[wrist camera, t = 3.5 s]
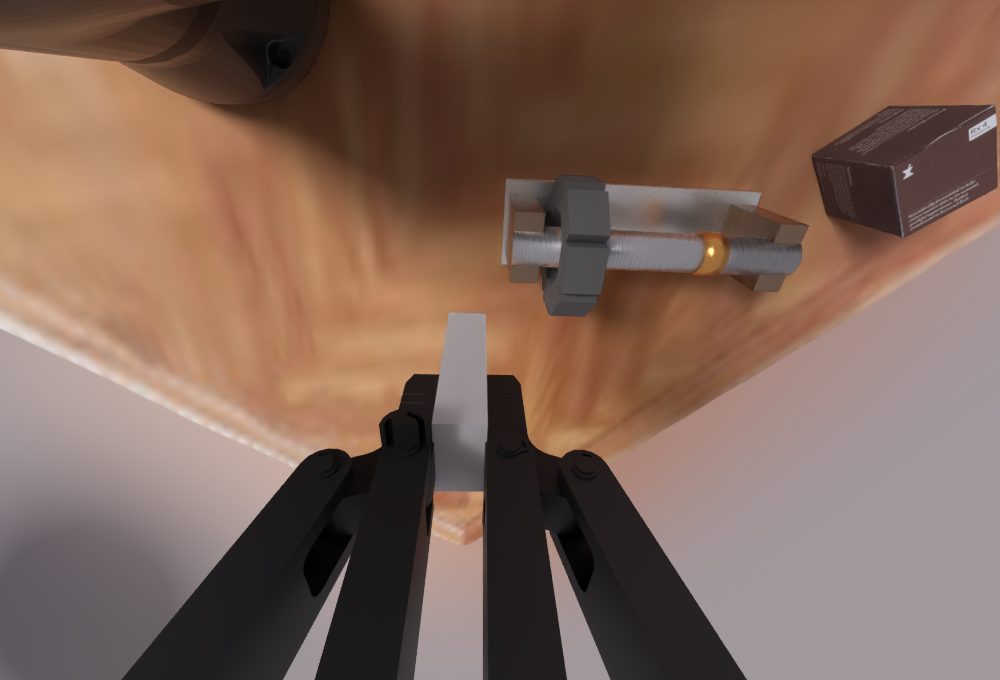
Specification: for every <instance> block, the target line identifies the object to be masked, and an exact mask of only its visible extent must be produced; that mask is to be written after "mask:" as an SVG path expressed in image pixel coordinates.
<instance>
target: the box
mask: <svg viewBox="0 0 1000 680" xmlns="http://www.w3.org/2000/svg"><path fill="white" fill-rule="evenodd" d="M812 157H813V161H814V165H815V169H816V173H817V176H818V180H819V183H820V187H821V191H822V195H823V200H824V204H825V207H826V211H827V214H828V215H831V216H835V217H838V218H841V219H844V220H847V221H850V222H854V223H857V224H860V225H864V226H867V227H871V228H874V229H877V230H880V231H883V232H886V233H891V234H894V235H897V236H900V237H902V238H904V237H906V236H908V235H910V234H912V233H914V232H915V231H917V230H919V229H921V228H923V227H925V226H927V225H928V224H930V223H932V222H934V221H936V220H938V219H940V218H942V217H943V216H945V215H947V214H949V213H951V212H953V211H955V210H957V209H958V208H960V207H962V206H964V205H966V204H968V203H970V202H971V201H973V200H975V199H977V198H979V197H981V196H983V195H985V194H987V193H988V192H990V191H992V190H994V189H996V188H997V187H998V178H997V177H998V176H997V120H996V110H995V105H980V106H975V105H959V106H889V107H887V108H885V109H884V110H882V111H881V112H879V113H878V114H876V115H874V116H873V117H871V118H870V119H868V120H866V121H865V122H863V123H862V124H860V125H858V126H857V127H855V128H854V129H852V130H850V131H849V132H847V133H846V134H844V135H843V136H841V137H839V138H838V139H836V140H835V141H833V142H831V143H830V144H828V145H827V146H825V147H824V148H822V149H820V150H819V151H817V152H816V153H814V154H813V155H812Z"/></svg>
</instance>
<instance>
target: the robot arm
mask: <svg viewBox="0 0 1000 680" xmlns="http://www.w3.org/2000/svg"><path fill="white" fill-rule="evenodd" d="M328 10H329V0H0V49H9V50H18V51H27V52H35V53H44V54H53V55H62V56H71V57H80V58H89V59H98V60H107V61H118V62H120V63H122V64H123V65H125V66H127V67H129V68H131V69H132V70H134V71H136V72H138V73H140V74H141V75H143V76H145V77H147V78H149V79H150V80H152V81H154V82H156V83H158V84H160V85H161V86H163V87H165V88H167V89H169V90H172V91H174V92H176V93H179V94H181V95H184V96H187V97H190V98H193V99H197V100H200V101H204V102H209V103H215V104H239V105H246V104H256V103H262V102H266V101H269V100H272V99H275V98H277V97H279V96H281V95H283V94H285V93H286V92H288V91H289V90H291V89H292V88H293V87H295V86H296V85H297V84H298V83H299V82H300V81H301V80H302V79H303V78H304V77H305V75H306V74H307V73H308V71H309V70H310V68H311V67H312V65H313V63H314V62H315V60H316V58H317V56H318V54H319V51H320V48H321V46H322V43H323V39H324V36H325V31H326V27H327V20H328ZM379 428H380V435H381V442H382V447H381V448H379V449H377V450H375V451H374V452H371V453H368V454H365V455H360V456H356V457H352V458H350V456H349V455H348V454H347V453H346V452H345V451H342V450H340V449H325V450H320V451H317V452H315V453H313V454H311V455H310V456H308V457H307V458H306V459H305V460H304V461H302V462H301V463H300V465H299V466H298V467H297V468H296V469H295V471H294V472H293V473H292V474H291V476H290V477H289V478H288V479H287V480H286V482H285V483H284V484H283V485H282V486H281V488H280V489H279V490H278V491H277V492H276V494H275V495H274V496H273V497H272V498H271V500H270V501H269V502H268V503H267V504H266V506H265V507H264V508H263V509H262V510H261V512H260V513H259V514H258V515H257V517H256V518H255V519H254V520H253V521H252V523H251V524H250V525H249V526H248V528H247V529H246V530H245V531H244V532H243V533H242V535H241V536H240V537H239V539H237V541H236V542H235V543H234V544H233V546H232V547H231V548H230V549H229V550H228V552H227V553H226V554H225V555H224V556H223V558H222V559H221V560H220V561H219V562H218V564H217V565H216V566H215V567H214V569H213V570H212V571H211V572H210V573H209V575H208V576H207V577H206V578H205V579H204V581H203V582H202V583H201V584H200V586H199V587H198V588H197V589H196V590H195V591H194V593H193V594H192V595H191V596H190V598H189V599H188V600H187V601H186V602H185V604H184V605H183V606H182V607H181V608H180V610H179V611H178V612H177V613H176V614H175V616H174V617H173V618H172V619H171V620H170V622H169V623H168V624H167V625H166V627H165V628H164V629H163V630H162V631H161V633H160V634H159V635H158V636H157V637H156V639H155V640H154V641H153V642H152V644H151V645H150V646H149V647H148V648H147V650H146V651H145V652H144V653H143V654H142V656H141V657H140V658H139V659H138V660H137V662H136V663H135V664H134V665H133V666H132V668H131V669H130V670H129V671H128V672H127V674H126V675H125V676H124V677H123V678H122V680H283V678H284V676H285V675H286V673H287V671H288V669H289V667H290V665H291V663H292V662H293V660H294V658H295V656H296V654H297V652H298V650H299V649H300V647H301V645H302V643H303V641H304V640H305V638H306V636H307V634H308V632H309V630H310V628H311V626H312V625H313V623H314V621H315V619H316V617H317V615H318V614H319V612H320V610H321V608H322V606H323V605H324V603H325V601H326V599H327V597H328V595H329V593H330V592H331V590H332V588H333V586H334V584H335V582H336V580H337V579H338V577H339V575H340V573H341V571H342V570H343V568H344V566H345V564H346V562H347V560H348V558H349V557H350V560H349V563H348V566H347V570H346V573H345V577H344V580H343V584H342V587H341V591H340V594H339V597H338V601H337V604H336V608H335V611H334V615H333V618H332V622H331V625H330V628H329V632H328V635H327V639H326V642H325V646H324V650H323V653H322V656H321V660H320V663H319V666H318V670H317V674H316V677H315V680H414V672H415V663H416V655H417V646H418V637H419V629H420V621H421V612H422V603H423V595H424V586H425V577H426V569H427V561H428V552H429V544H430V535H431V527H432V518H433V510H434V504H433V494H434V486H435V491H484V499H483V518H482V524H483V680H567V677H566V671H565V663H564V656H563V649H562V643H561V636H560V629H559V622H558V615H557V608H556V602H555V595H554V588H553V581H552V574H551V567H550V561H549V554H548V547H547V540H546V533H545V529H546V530H549V531H550V535H551V537H552V539H553V542H554V544H555V547H556V549H557V552H558V554H559V556H560V559H561V561H562V564H563V566H564V568H565V571H566V573H567V575H568V578H569V581H570V583H571V585H572V588H573V590H574V592H575V595H576V597H577V600H578V602H579V605H580V607H581V609H582V612H583V614H584V617H585V619H586V622H587V624H588V626H589V629H590V631H591V634H592V635H593V638H594V641H595V643H596V646H597V648H598V651H599V653H600V655H601V658H602V660H603V663H604V665H605V667H606V670H607V672H608V675H609V677H610V680H747V679H746V678H745V676H744V675H743V673H742V672H741V670H740V668H739V667H738V665H737V664H736V662H735V661H734V659H733V658H732V656H731V654H730V653H729V651H728V650H727V648H726V647H725V646H724V644H723V642H722V641H721V639H720V638H719V636H718V634H717V633H716V631H715V630H714V628H713V627H712V625H711V624H710V622H709V621H708V619H707V618H706V616H705V615H704V613H703V611H702V610H701V608H700V607H699V605H698V604H697V602H696V601H695V599H694V598H693V596H692V594H691V593H690V591H689V590H688V588H687V587H686V585H685V584H684V582H683V581H682V579H681V578H680V576H679V575H678V573H677V571H676V570H675V568H674V567H673V565H672V564H671V562H670V561H669V559H668V557H667V556H666V555H665V553H664V551H663V550H662V548H661V547H660V545H659V544H658V542H657V541H656V539H655V537H654V536H653V534H652V533H651V531H650V530H649V528H648V527H647V525H646V524H645V522H644V520H643V519H642V518H641V516H640V514H639V513H638V511H637V510H636V508H635V507H634V505H633V504H632V502H631V501H630V499H629V497H628V496H627V494H626V493H625V491H624V490H623V488H622V487H621V485H620V484H619V482H618V480H617V479H616V477H615V476H614V474H613V473H612V471H611V470H610V468H609V467H608V465H607V464H606V463H605V461H604V460H603V459H602V458H601V457H599V456H598V455H596V454H594V453H593V452H589V451H586V450H573V451H570V452H568V453H566V454H565V455H564V456H563V457H562V458H560V457H556V456H553V455H549V454H546V453H544V452H542V451H540V450H539V449H537V448H536V447H535V446H534V445H533V444H532V443H531V441H530V440H529V438H528V434H527V427H526V420H525V413H524V405H523V398H522V391H521V384H520V383H519V382H518V380H517V379H516V378H515V376H514V375H487V357H486V314H481V313H449V318H448V324H447V330H446V337H445V343H444V349H443V356H442V362H441V368H440V375H432V374H414V375H413V376H412V377H411V378H410V379H409V380H408V381H407V382H406V384H405V388H404V391H403V395H402V398H401V404H400V406H399V409H398V410H396V411H393V412H390V413H389V414H388V415H386V416H385V417H384V418H383V419H382V420H381V422H380V424H379ZM350 555H351V556H350Z"/></svg>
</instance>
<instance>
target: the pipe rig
mask: <svg viewBox="0 0 1000 680" xmlns="http://www.w3.org/2000/svg"><path fill="white" fill-rule="evenodd" d="M554 182H555V180H542V179H523V178H506V183H505V200H504V217H503V234H502V251H501V264H504V265H507V267H508V273H509V279H510V282H511V283H538V274H539V267H556V268H558V266H559V259H560V252H561V245H562V239H561V227H546V226H545V218H546V211H548V201H549V198H550V194H551V191H552V188H553V185H554ZM605 184H606V187H605V191H608V196H609V211H610V227H611V237H610V238H609V240H608V241H607V242H606V245H607V246H608V247H609V248H610V252H609V256H608V261H607V266H606V269H608V270H633V271H659V272H685V273H689V274H691V275H709V276H715V275H718V274H729V275H730V276H732V277H733V278H735V279H736V280H737V281H739V282H740V283H742V284H743V285H745V286H746V287H748V288H749V289H751V290H752V291H762V292H778V291H779V289H780V287H781V285H782V283H783V281H784V279H785V276H788V275H790V274H792V273H793V272H794V271H795V270H796V269H797V267H798V266H799V264H800V262H801V259H802V247H801V242H802V240H803V237H804V235H805V233H806V231H807V229H808V227H809V225H806V224H803V223H800V222H798V221H795V220H792V219H790V218H787V217H784V216H782V215H779V214H776V213H773V212H771V211H768V210H765V209H763V208H760V207H757V204H758V201H759V199H760V196H761V194H762V193H761V192H758V191H750V190H731V189H712V188H693V187H674V186H656V185H637V184H618V183H605Z"/></svg>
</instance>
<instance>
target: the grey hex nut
mask: <svg viewBox="0 0 1000 680" xmlns="http://www.w3.org/2000/svg"><path fill="white" fill-rule="evenodd" d="M605 187H606V184H605V183H603V182H602V181H600V180H599V179H597V178H596V177H593V176H574V175H558V178H556V179H555V182H554V185H553V188H552V191H551V194H550V198H549V201H548V211H546V218H545V226H546V227H561V239H562V245H561V252H560V259H559V266H558V268H556V267H542V291H544V293H543V299H544V302H545V305H546V308H547V311H548V315H551V316H584V317H585V315H586V314H587V313H588V312H589V311H590V310H591V309H592V308H593V307H594V306H595V305H596V304H597V295H601V290H602V285H603V281H604V276H605V271H606V266H607V261H608V256H609V252H610V248H609V247H608V246H607V245H606V242H607V241H608V240H609V238H610V237H611V227H610V211H609V196H608V191H605Z"/></svg>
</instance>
